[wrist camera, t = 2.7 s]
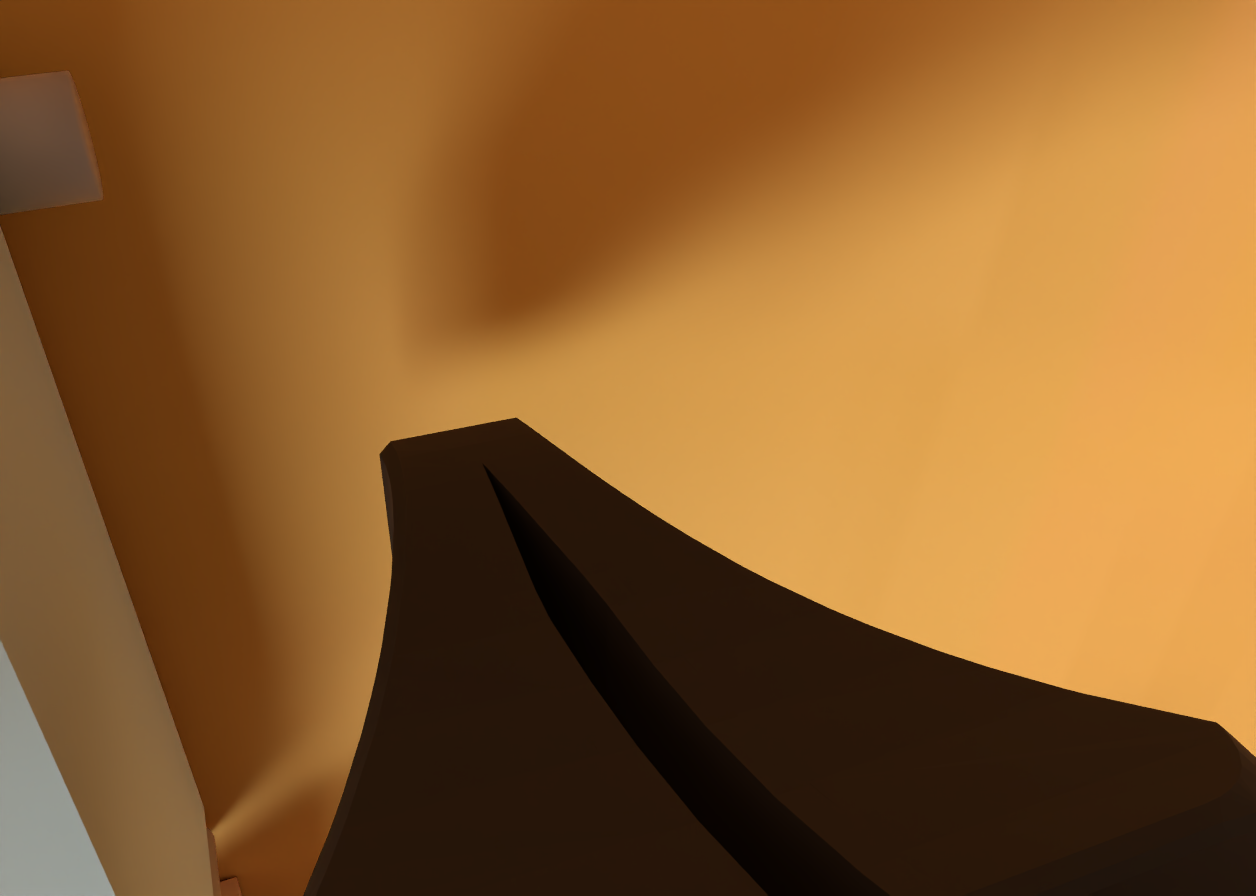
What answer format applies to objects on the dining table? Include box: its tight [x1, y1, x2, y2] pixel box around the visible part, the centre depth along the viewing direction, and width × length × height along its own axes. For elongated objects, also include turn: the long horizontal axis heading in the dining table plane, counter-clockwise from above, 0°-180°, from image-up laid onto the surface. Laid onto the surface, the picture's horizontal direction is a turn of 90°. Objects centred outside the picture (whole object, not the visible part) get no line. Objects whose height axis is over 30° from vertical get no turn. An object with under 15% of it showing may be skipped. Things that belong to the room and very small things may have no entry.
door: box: [0, 70, 221, 896], centre depth 10 cm, size 12×2×5 cm, turn 0°
